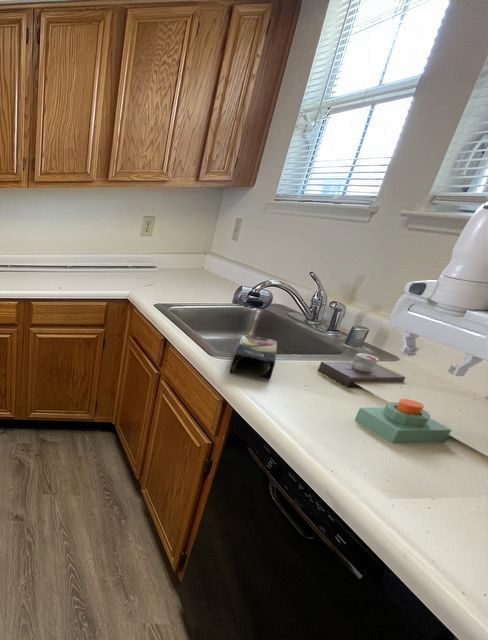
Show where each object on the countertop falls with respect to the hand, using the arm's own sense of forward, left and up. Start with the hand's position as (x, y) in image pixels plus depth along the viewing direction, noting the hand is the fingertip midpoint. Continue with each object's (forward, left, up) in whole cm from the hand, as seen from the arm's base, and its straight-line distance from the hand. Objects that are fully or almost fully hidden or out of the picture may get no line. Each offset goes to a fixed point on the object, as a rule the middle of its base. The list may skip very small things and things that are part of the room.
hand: (430, 364), depth 81 cm
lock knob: (-12, -24, -12) cm, 29 cm away
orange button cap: (0, 0, -11) cm, 11 cm away
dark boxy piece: (+11, -33, -15) cm, 38 cm away
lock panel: (-12, -24, -15) cm, 31 cm away
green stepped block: (0, 0, -15) cm, 15 cm away
